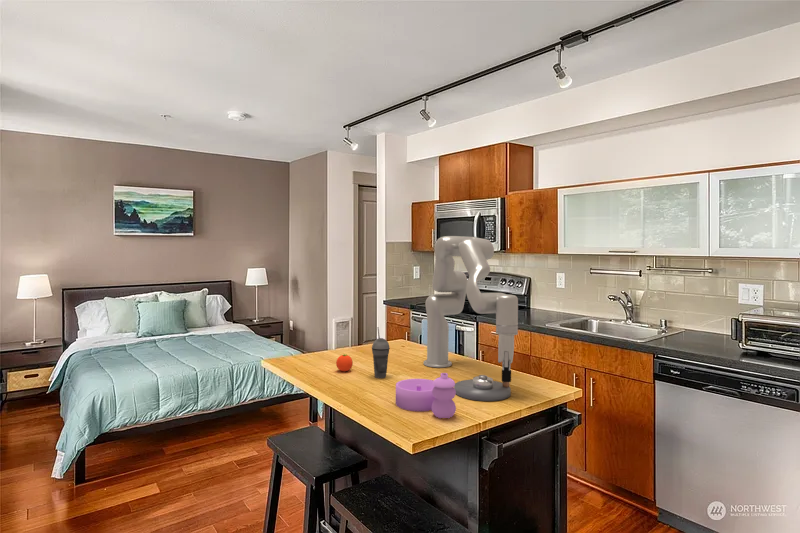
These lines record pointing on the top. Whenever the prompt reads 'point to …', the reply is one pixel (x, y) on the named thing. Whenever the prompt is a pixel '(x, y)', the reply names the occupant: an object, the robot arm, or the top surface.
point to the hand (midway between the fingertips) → (506, 381)
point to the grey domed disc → (483, 391)
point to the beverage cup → (380, 356)
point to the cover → (482, 382)
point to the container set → (427, 395)
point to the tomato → (344, 363)
